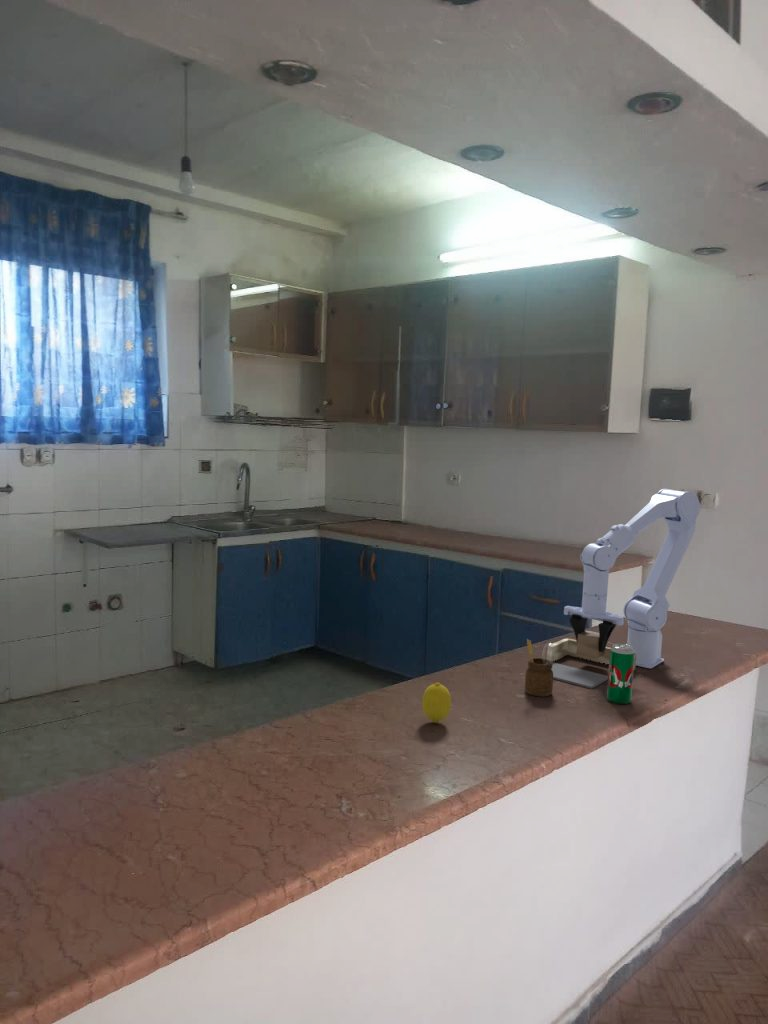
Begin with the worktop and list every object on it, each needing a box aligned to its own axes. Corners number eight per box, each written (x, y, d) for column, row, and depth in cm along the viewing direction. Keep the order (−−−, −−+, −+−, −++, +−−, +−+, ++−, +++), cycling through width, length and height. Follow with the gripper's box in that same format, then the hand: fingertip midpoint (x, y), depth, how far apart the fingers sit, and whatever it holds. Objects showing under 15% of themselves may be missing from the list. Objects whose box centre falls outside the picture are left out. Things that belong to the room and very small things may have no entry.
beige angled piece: (565, 653, 200) (566, 637, 199) (635, 669, 188) (636, 653, 188) (546, 661, 192) (547, 645, 192) (618, 679, 181) (619, 662, 180)
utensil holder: (557, 696, 168) (561, 641, 166) (532, 698, 165) (535, 643, 164) (543, 687, 173) (546, 634, 172) (518, 689, 171) (521, 636, 170)
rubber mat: (551, 663, 190) (551, 661, 190) (609, 678, 181) (610, 676, 181) (531, 673, 182) (531, 671, 182) (591, 688, 173) (591, 686, 173)
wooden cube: (585, 650, 193) (586, 630, 192) (604, 654, 190) (606, 634, 189) (576, 654, 189) (577, 634, 188) (595, 658, 186) (597, 638, 185)
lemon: (453, 720, 151) (456, 681, 150) (443, 730, 146) (446, 689, 145) (427, 715, 153) (429, 676, 152) (416, 724, 148) (418, 684, 147)
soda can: (628, 697, 168) (632, 643, 167) (633, 706, 163) (637, 650, 162) (604, 695, 169) (608, 642, 167) (608, 704, 164) (613, 648, 162)
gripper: (559, 591, 189) (556, 645, 191) (617, 601, 180) (612, 658, 182) (572, 587, 195) (568, 639, 196) (628, 597, 186) (624, 652, 187)
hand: (590, 648), depth 189 cm, fingers closed on wooden cube, 5 cm apart
